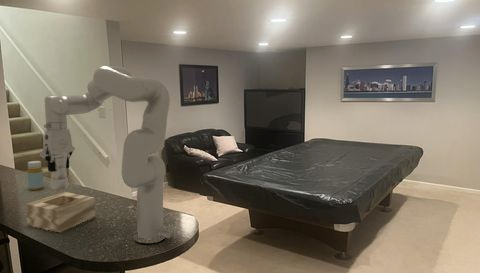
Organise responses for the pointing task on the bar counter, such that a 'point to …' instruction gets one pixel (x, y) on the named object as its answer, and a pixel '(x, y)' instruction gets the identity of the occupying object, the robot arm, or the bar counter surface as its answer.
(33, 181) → the bottle
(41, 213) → the well block
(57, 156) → the plastic bottle
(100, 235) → the bar counter surface
